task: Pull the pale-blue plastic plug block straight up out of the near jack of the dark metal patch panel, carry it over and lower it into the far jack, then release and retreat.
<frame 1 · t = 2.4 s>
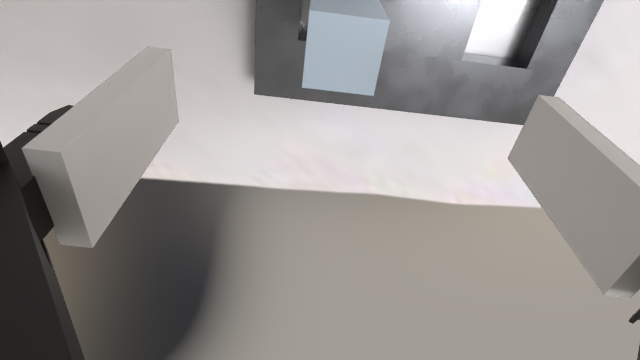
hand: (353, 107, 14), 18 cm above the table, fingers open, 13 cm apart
patch panel: (415, 8, 28), on the table
rj45 plug: (336, 0, 27), point 1 cm above the table, touching patch panel
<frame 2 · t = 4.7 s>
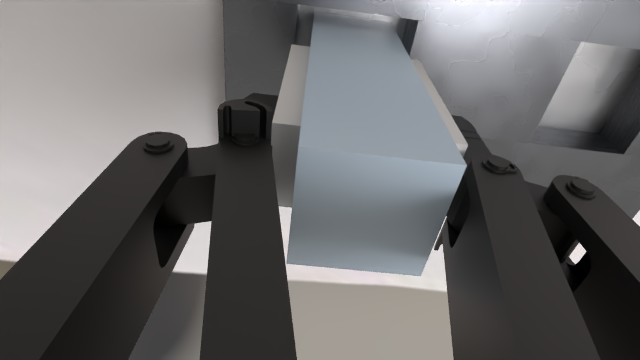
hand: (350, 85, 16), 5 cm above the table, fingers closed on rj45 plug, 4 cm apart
patch panel: (460, 65, 20), on the table
rj45 plug: (346, 55, 19), point 1 cm above the table, touching gripper, patch panel
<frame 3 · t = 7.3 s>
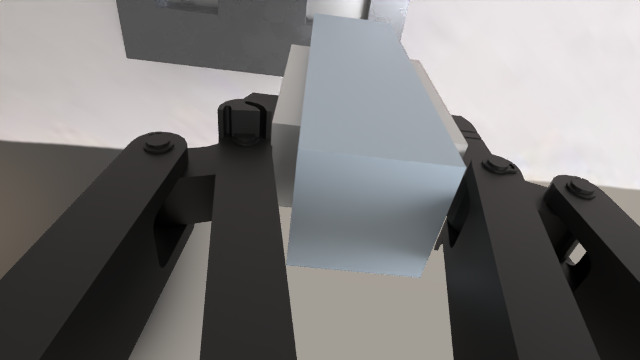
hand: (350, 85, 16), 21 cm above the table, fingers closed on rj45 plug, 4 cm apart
rj45 plug: (346, 56, 19), point 17 cm above the table, touching gripper
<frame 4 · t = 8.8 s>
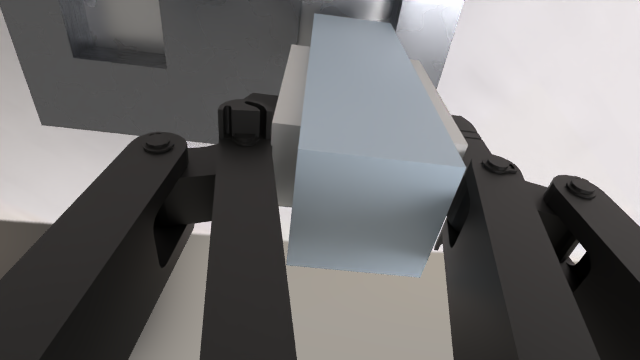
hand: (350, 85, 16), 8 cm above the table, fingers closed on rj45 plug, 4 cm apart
patch panel: (240, 16, 22), on the table
rj45 plug: (346, 56, 19), point 5 cm above the table, touching gripper
when the fingers open (5 cm above the table, at t = 10.0 s): rj45 plug stays where it is, resting on patch panel.
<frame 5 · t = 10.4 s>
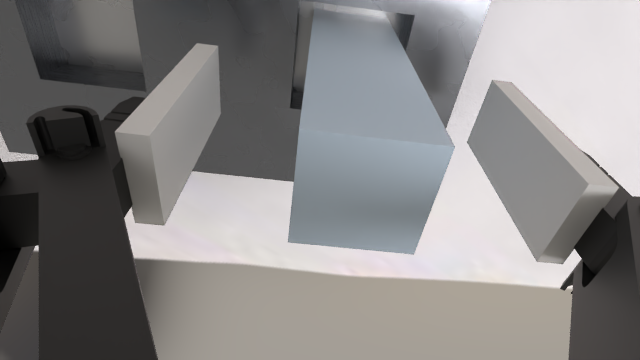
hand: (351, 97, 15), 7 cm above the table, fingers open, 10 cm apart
patch panel: (230, 31, 20), on the table
rj45 plug: (345, 50, 19), point 1 cm above the table, touching patch panel
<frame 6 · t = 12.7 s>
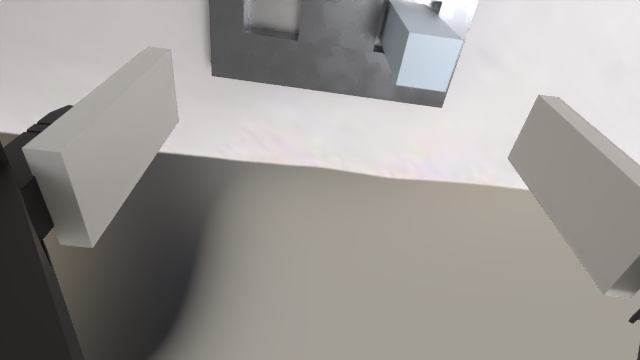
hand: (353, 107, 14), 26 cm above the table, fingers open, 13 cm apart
patch panel: (339, 10, 36), on the table
rj45 plug: (402, 22, 36), point 1 cm above the table, touching patch panel
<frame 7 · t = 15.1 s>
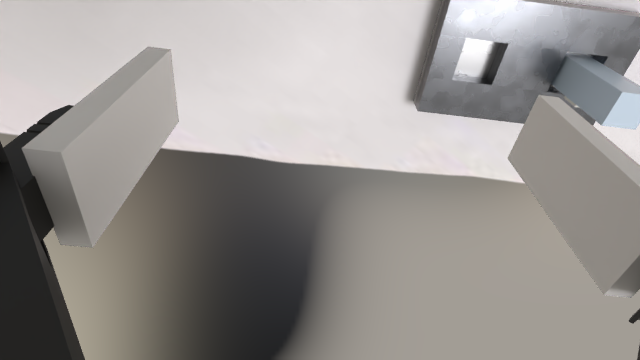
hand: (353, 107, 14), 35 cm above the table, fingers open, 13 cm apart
patch panel: (518, 60, 47), on the table
rj45 plug: (567, 68, 47), point 1 cm above the table, touching patch panel
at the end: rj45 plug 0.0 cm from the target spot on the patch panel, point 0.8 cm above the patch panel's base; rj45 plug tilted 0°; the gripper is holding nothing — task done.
